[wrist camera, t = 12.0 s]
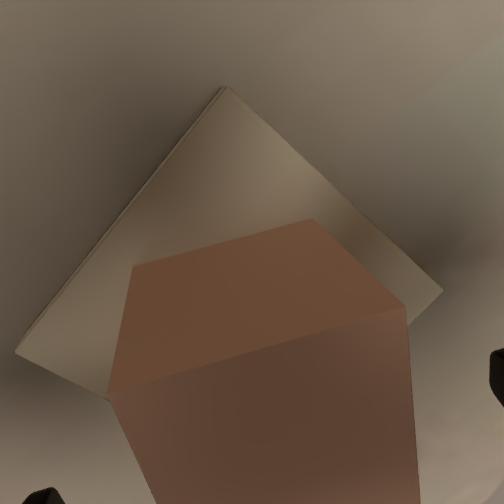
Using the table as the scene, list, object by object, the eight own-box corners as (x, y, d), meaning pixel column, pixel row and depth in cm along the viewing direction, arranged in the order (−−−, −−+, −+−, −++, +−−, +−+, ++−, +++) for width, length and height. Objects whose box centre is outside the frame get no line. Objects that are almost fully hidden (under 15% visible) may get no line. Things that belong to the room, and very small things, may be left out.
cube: (184, 407, 13) (191, 580, 9) (132, 266, 11) (106, 394, 7) (336, 362, 14) (420, 503, 9) (312, 218, 12) (406, 306, 7)
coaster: (25, 332, 12) (14, 353, 11) (223, 85, 11) (227, 86, 10) (251, 452, 16) (256, 476, 15) (426, 277, 14) (444, 290, 13)
